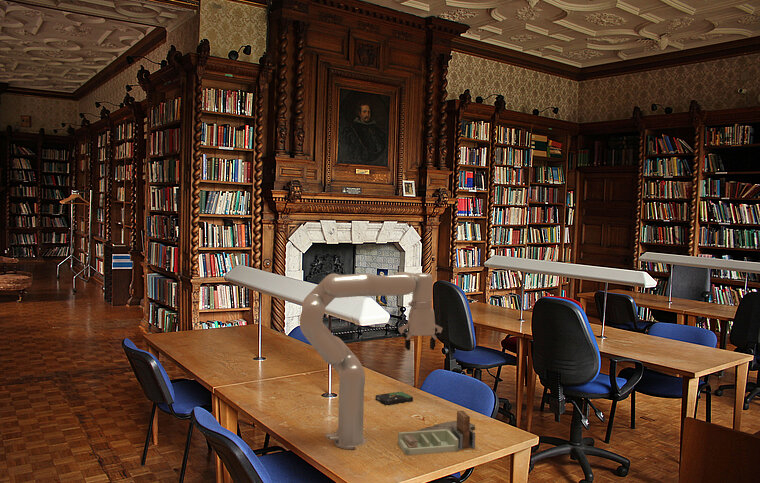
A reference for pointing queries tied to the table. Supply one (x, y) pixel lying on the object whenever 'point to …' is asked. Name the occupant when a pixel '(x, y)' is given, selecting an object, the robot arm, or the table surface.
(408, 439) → the offcut upper
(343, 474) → the table surface
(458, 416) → the walnut board
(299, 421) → the table surface
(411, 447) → the offcut lower
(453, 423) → the stone slab
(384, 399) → the disk drive
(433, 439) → the tray
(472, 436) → the stand
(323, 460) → the table surface
